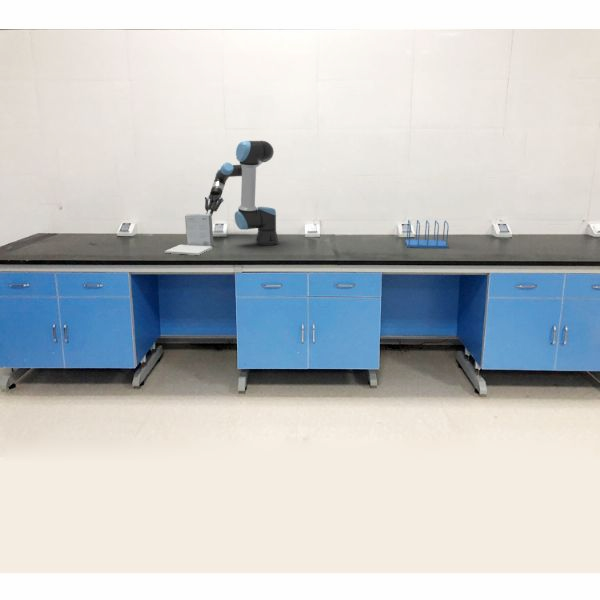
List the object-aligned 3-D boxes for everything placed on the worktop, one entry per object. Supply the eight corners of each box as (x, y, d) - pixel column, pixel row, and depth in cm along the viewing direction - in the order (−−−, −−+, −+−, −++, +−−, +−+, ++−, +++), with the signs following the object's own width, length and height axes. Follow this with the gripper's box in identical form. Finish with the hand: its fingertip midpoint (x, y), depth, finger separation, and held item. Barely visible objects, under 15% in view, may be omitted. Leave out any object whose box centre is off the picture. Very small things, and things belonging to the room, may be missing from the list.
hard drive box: (213, 245, 375) (212, 213, 369) (211, 247, 368) (209, 215, 362) (189, 244, 377) (188, 213, 371) (186, 247, 369) (184, 215, 363)
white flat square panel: (212, 248, 364) (212, 246, 364) (198, 255, 346) (198, 253, 345) (180, 246, 370) (180, 244, 370) (164, 253, 352) (164, 251, 351)
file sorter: (407, 247, 367) (408, 223, 362) (405, 242, 383) (406, 218, 379) (448, 248, 364) (449, 224, 360) (444, 243, 381) (446, 219, 376)
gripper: (227, 194, 391) (218, 223, 381) (209, 193, 395) (200, 222, 385) (224, 186, 385) (215, 216, 375) (206, 186, 388) (196, 215, 378)
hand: (207, 219), depth 380 cm, fingers closed
